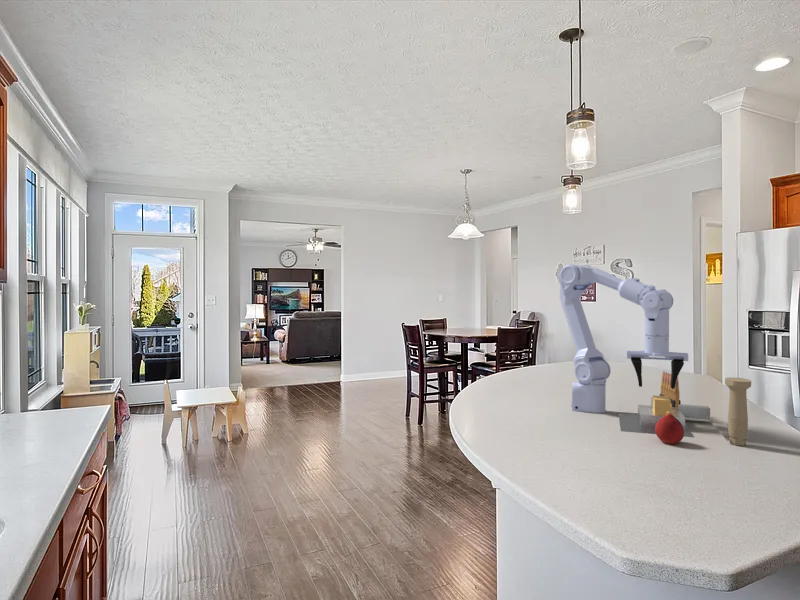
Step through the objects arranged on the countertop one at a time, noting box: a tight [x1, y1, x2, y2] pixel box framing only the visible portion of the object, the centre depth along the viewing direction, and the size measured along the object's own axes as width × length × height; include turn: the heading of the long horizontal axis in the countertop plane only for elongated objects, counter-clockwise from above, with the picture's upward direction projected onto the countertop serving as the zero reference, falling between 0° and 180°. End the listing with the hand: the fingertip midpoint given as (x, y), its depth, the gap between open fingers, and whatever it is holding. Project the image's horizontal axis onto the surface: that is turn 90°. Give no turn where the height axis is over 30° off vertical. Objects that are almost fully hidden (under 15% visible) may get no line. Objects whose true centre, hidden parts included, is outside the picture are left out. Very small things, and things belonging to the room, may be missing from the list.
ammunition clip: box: [659, 370, 682, 408], centre depth 152 cm, size 11×2×12 cm, turn 174°
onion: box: [655, 412, 685, 445], centre depth 119 cm, size 6×6×8 cm
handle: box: [724, 377, 752, 447], centre depth 121 cm, size 5×6×15 cm
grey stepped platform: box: [617, 396, 711, 438], centre depth 135 cm, size 22×21×6 cm
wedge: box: [652, 395, 671, 416], centre depth 136 cm, size 4×6×6 cm, turn 159°
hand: (656, 387), depth 138 cm, fingers open, 7 cm apart
